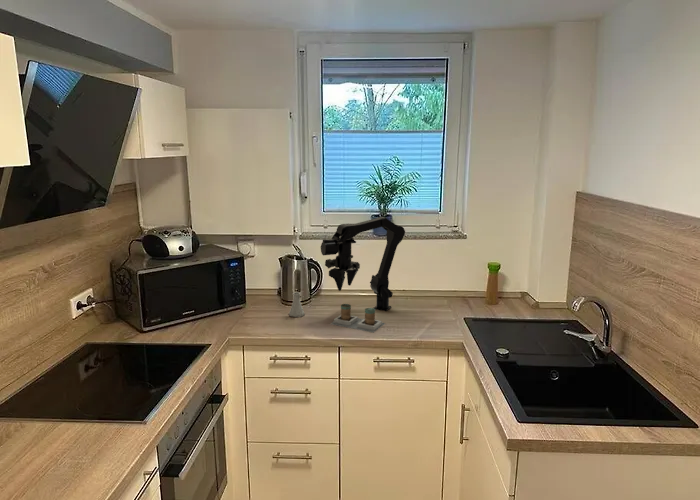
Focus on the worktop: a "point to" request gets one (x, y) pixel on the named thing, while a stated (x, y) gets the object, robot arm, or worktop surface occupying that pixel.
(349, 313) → the sleeve
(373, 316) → the seated sleeve
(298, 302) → the flask
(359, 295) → the worktop surface
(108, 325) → the worktop surface
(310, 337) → the worktop surface
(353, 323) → the socket board
